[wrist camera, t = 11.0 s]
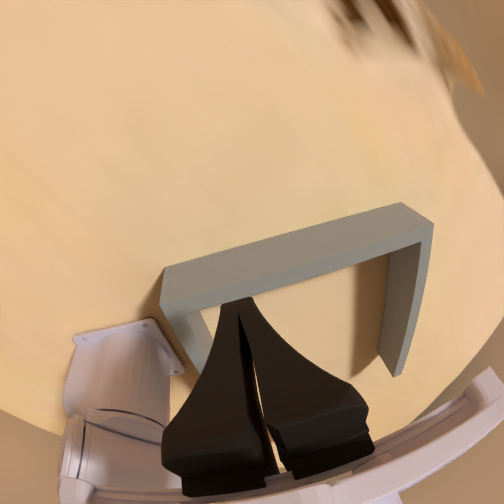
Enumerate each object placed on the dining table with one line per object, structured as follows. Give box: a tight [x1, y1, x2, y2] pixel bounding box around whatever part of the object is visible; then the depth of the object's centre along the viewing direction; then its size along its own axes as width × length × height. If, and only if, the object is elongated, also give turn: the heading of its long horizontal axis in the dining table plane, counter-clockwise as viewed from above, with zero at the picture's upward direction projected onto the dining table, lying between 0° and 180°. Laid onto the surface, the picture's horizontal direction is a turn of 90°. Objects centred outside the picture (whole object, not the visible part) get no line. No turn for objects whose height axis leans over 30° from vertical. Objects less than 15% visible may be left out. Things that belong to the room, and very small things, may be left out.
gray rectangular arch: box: [159, 202, 434, 378], centre depth 25 cm, size 20×20×4 cm
